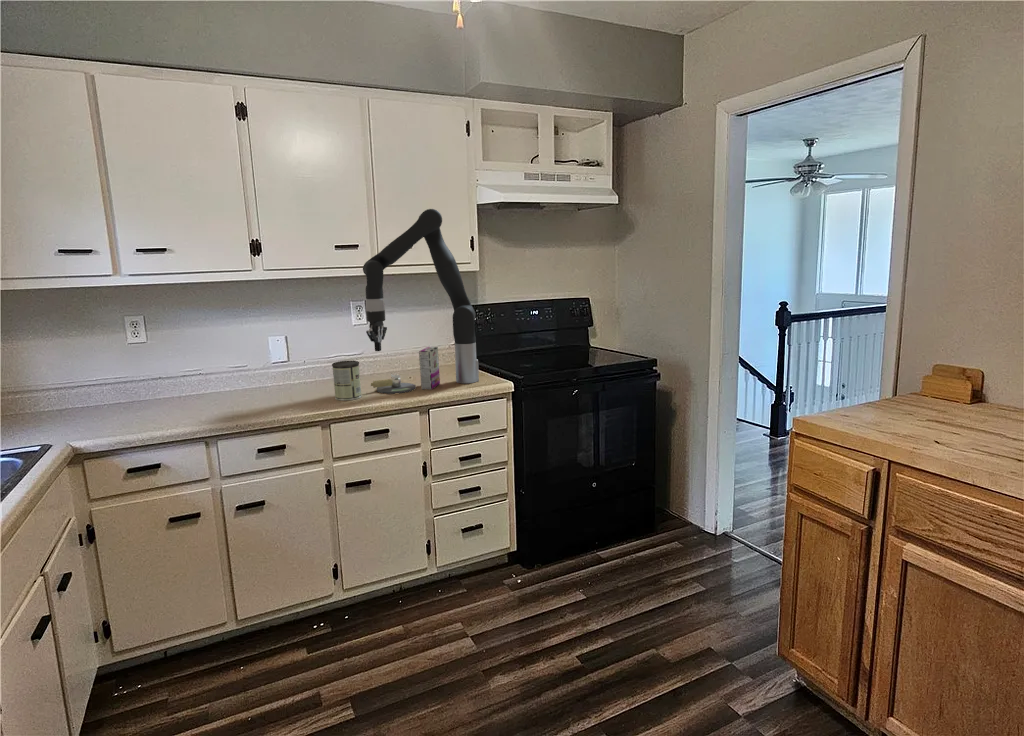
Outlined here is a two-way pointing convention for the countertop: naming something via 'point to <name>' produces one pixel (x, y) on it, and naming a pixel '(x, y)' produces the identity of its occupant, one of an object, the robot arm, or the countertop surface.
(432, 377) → the candy bar box
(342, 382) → the coffee can
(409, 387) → the dial plate
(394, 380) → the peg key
